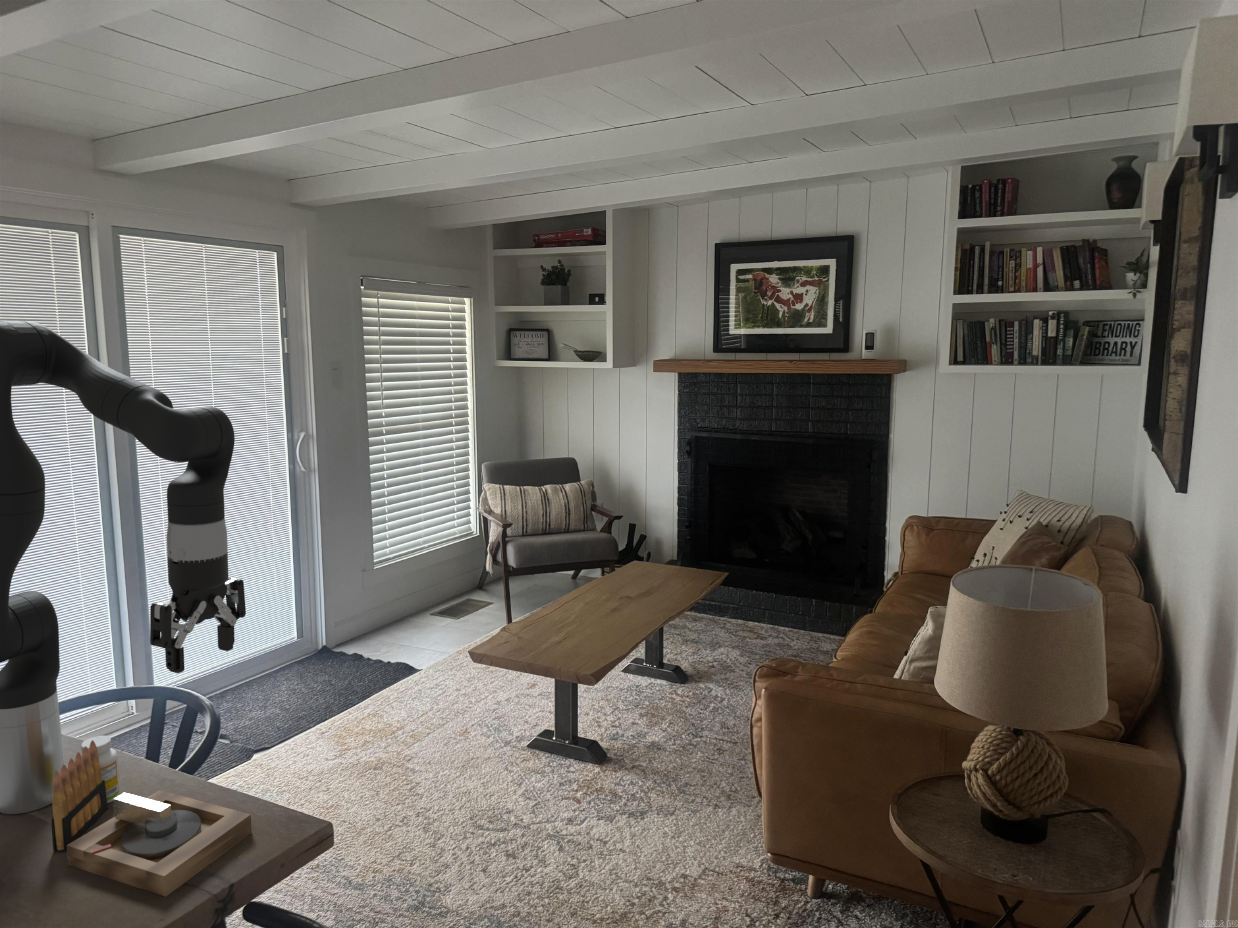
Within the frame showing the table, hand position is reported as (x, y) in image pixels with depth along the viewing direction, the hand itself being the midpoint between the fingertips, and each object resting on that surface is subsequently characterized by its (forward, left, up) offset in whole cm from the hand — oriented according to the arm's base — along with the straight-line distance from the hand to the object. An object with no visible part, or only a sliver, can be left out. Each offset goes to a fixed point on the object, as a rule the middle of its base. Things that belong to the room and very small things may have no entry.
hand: (201, 660), depth 116 cm
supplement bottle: (-24, +1, -28) cm, 37 cm away
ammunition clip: (-19, -6, -28) cm, 34 cm away
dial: (-6, -5, -26) cm, 27 cm away
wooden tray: (-4, -5, -28) cm, 28 cm away
